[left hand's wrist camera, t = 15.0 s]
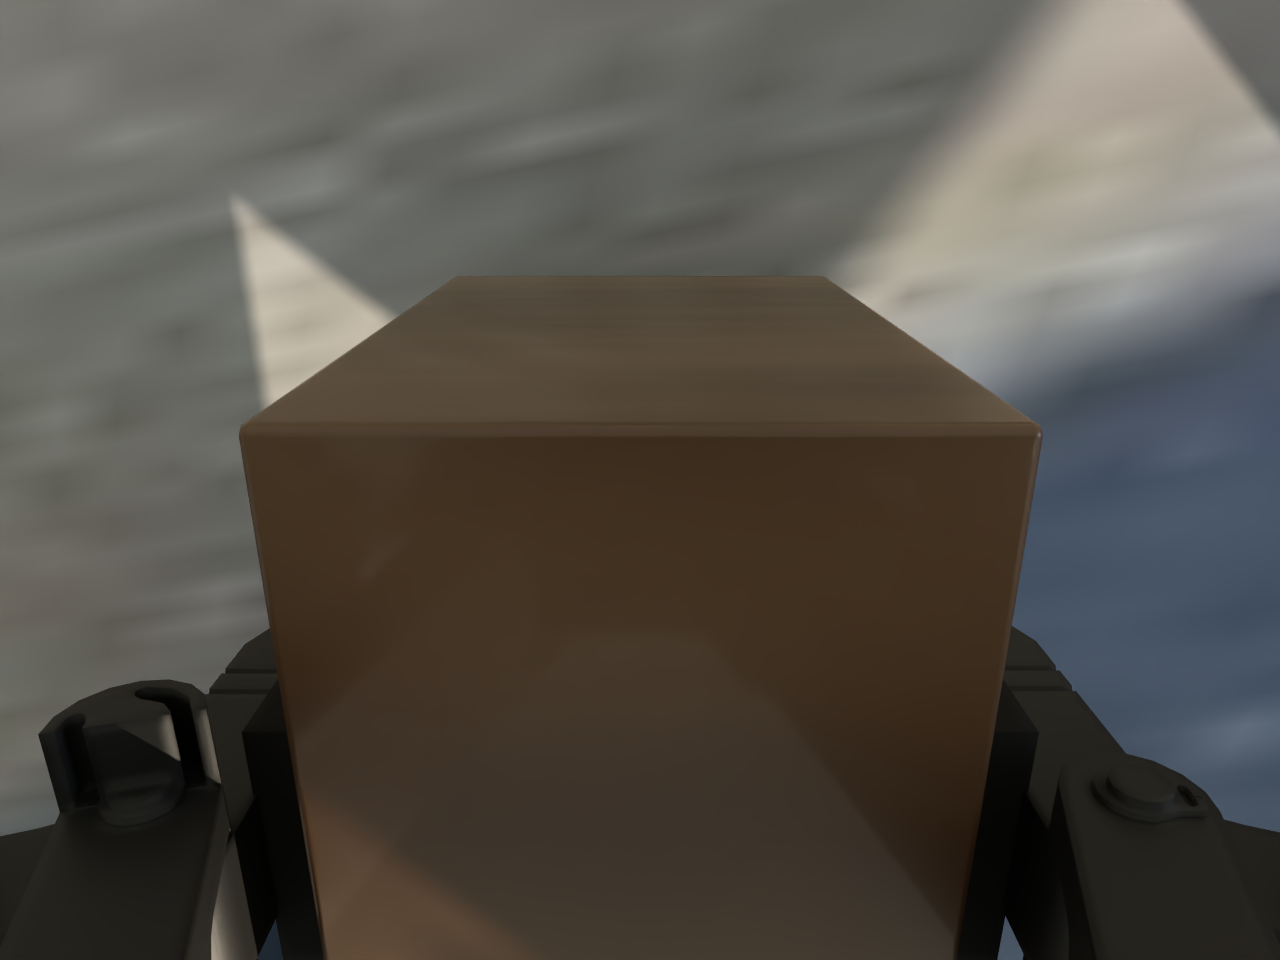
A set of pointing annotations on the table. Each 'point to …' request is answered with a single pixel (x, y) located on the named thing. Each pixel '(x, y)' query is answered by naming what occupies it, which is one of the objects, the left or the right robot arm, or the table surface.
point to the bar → (640, 622)
